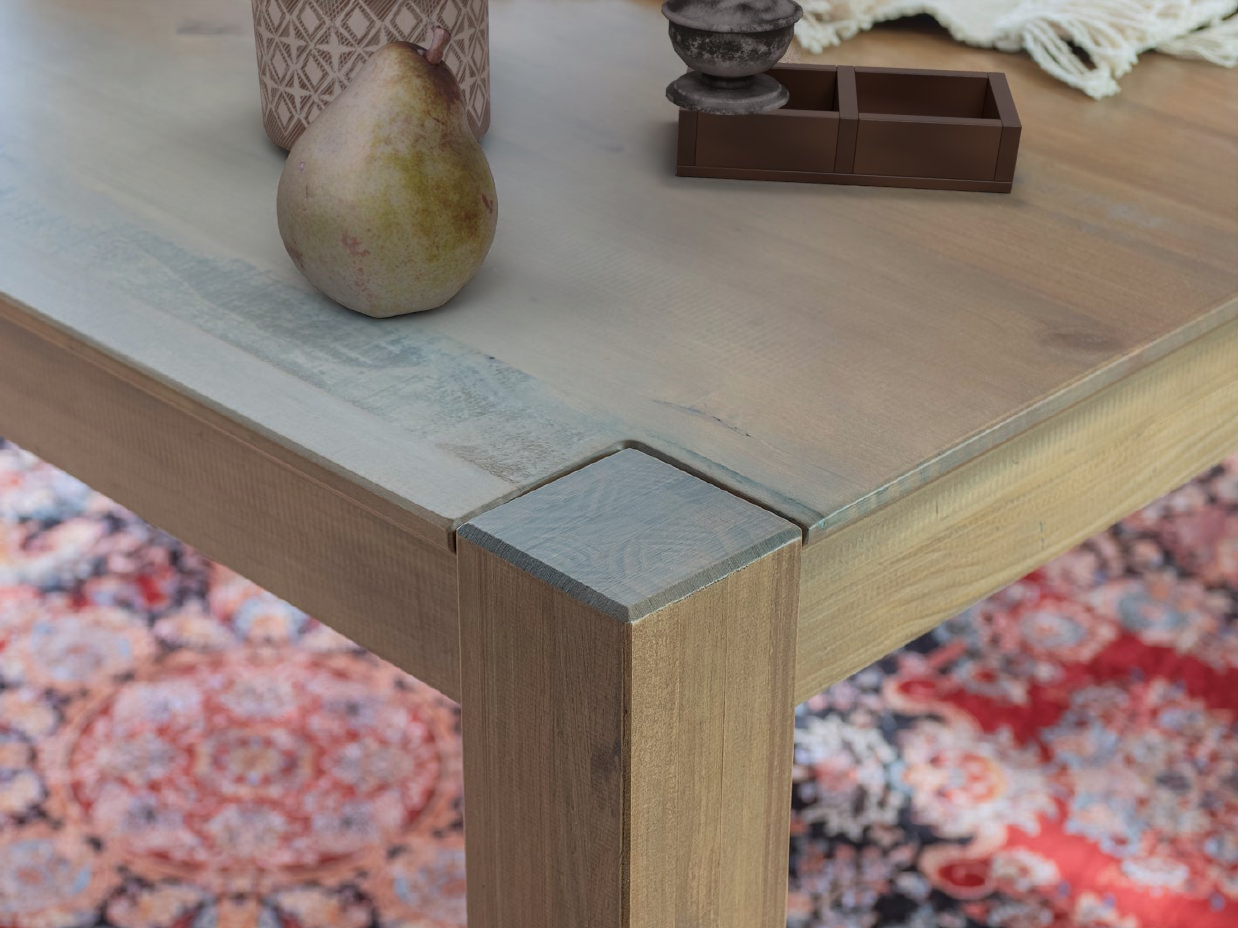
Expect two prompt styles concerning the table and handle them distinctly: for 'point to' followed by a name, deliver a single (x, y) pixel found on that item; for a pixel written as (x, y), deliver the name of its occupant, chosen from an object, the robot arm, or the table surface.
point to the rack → (864, 130)
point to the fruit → (390, 187)
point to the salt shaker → (730, 53)
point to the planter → (358, 53)
